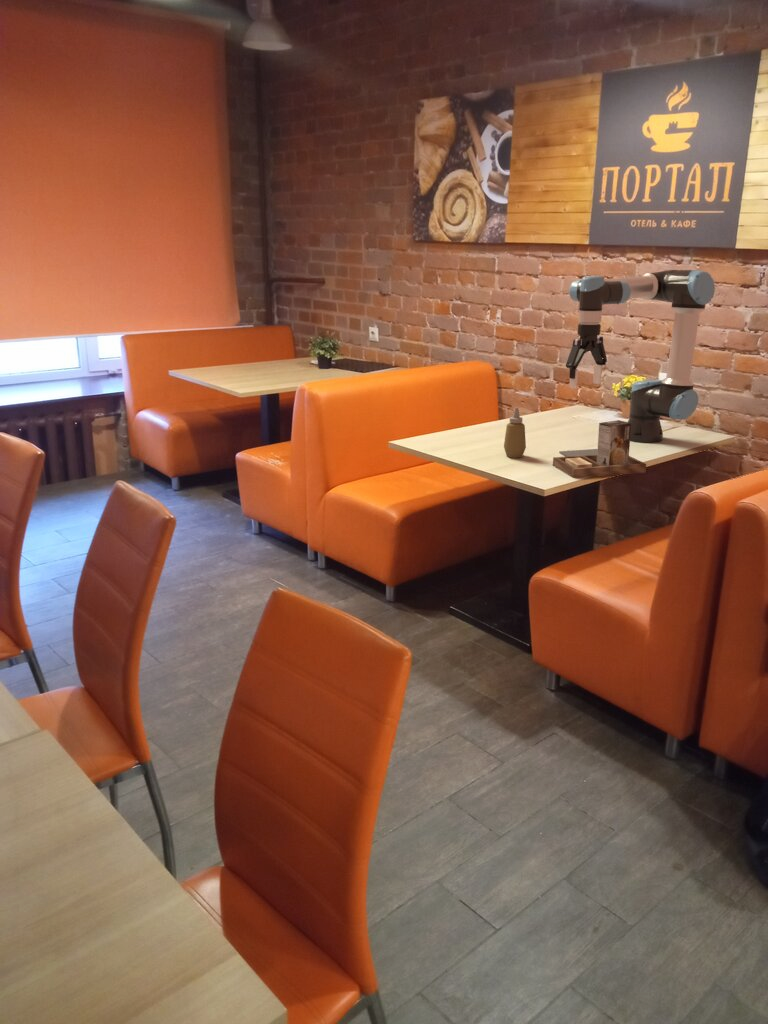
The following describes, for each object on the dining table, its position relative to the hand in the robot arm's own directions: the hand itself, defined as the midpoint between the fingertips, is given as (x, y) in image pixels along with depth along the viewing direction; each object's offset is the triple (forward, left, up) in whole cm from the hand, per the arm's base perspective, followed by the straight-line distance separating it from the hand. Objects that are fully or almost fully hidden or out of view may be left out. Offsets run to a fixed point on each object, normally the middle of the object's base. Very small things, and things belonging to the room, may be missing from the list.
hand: (585, 385), depth 285 cm
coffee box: (-7, +11, -27) cm, 30 cm away
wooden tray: (-2, +11, -27) cm, 29 cm away
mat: (-7, -7, -27) cm, 29 cm away
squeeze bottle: (+20, -13, -27) cm, 36 cm away
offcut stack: (+6, +11, -28) cm, 30 cm away
